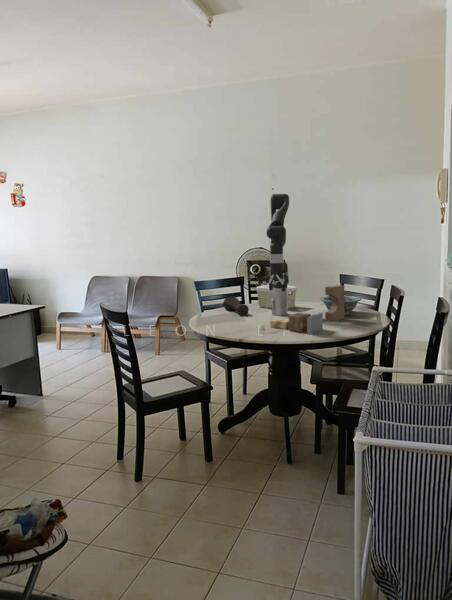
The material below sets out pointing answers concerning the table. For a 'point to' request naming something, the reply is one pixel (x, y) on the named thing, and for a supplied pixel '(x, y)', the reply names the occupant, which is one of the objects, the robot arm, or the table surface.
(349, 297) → the bowl
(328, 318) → the decorative block
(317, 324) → the wall
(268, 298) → the storage basket
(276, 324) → the tan wooden block
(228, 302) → the dark brown bone
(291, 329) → the socket block
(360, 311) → the table surface
